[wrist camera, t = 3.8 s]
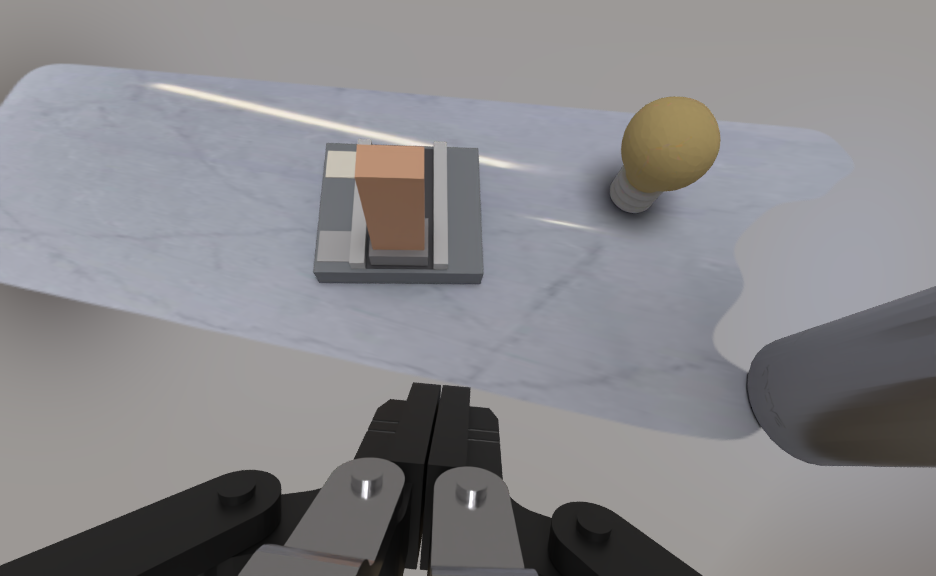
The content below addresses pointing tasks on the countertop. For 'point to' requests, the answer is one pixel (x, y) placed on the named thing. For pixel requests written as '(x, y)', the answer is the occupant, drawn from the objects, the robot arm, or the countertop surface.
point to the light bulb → (664, 151)
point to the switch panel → (445, 207)
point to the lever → (393, 203)
